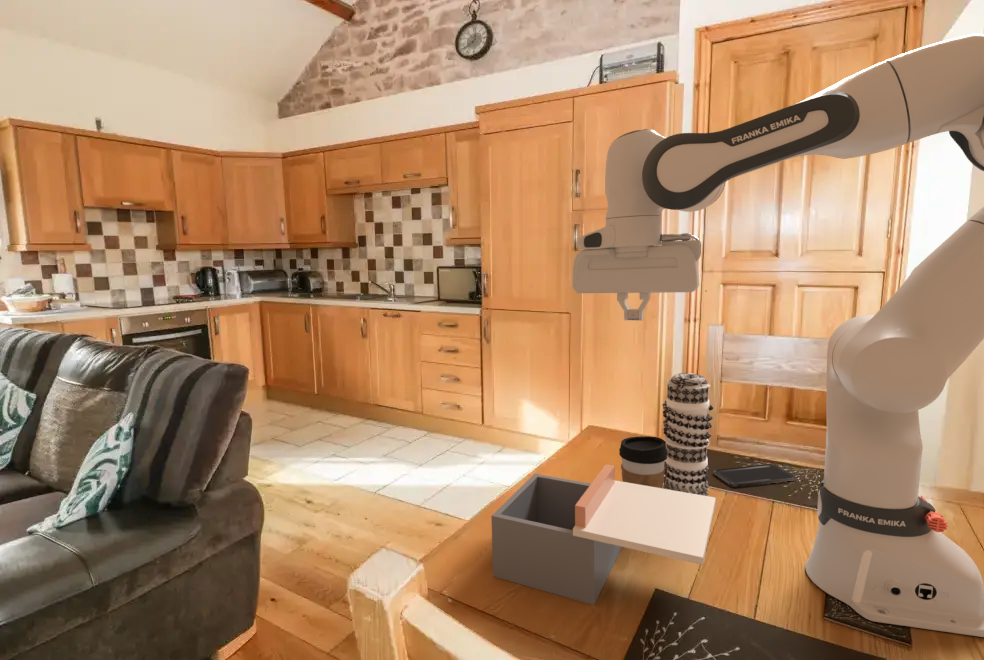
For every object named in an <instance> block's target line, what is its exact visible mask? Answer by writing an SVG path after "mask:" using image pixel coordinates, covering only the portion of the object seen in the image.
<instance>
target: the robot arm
mask: <svg viewBox="0 0 984 660" xmlns="http://www.w3.org/2000/svg"><path fill="white" fill-rule="evenodd" d="M945 132H948V134H949V136H950V137H951V138H952V140H953V141H954V143H956V144H957V145H958V147H959V148H960V149H961V151H962V153H963V154H964V156H965V158H966V159H968V161H969V162H970V163H971V164H972V165H973V166H974V167H976V168H977V169H979V171H982V172H984V34H983V33H981V34H980V33H972V34H967V35H963V36H958V37H954V38H950V39H946V40H942V41H939V42H935V43H932V44H929V45H925V46H922V47H919V48H915V49H913V50H909V51H908V52H905V53H901V54H899V55H897V56H893V57H891V58H888V59H885V60H884V61H881V62H878V63H876V64H874V65H871V66H870V67H867V68H865V69H862V70H860V71H859V72H856V73H854V74H852V75H850V76H848V77H845V78H843V79H842V80H840V81H838V82H837V83H835V84H833V85H831V86H829V87H826V88H825V89H823V90H821V91H819V92H817V93H815V94H813V95H811V96H809V97H807V98H805V99H803V100H801V101H800V102H796V103H795V104H791V105H789V106H786V107H783V108H780V109H778V110H775V111H773V112H769V113H767V114H765V115H761V116H759V117H757V118H754V119H750V120H748V121H745V122H743V123H740V124H738V125H735V126H732V127H728V128H725V129H723V130H719V131H714V132H702V133H701V132H685V133H684V132H683V133H676V134H672V135H670V136H667V137H665V136H664V135H661V134H660V133H658V132H657V131H656V130H654V129H651V128H650V129H648V128H645V129H637V130H632V131H629V132H626V133H624V134H621V135H620V136H618V137H617V138H616V139H613V141H612V143H611V144H610V145H609V147H608V150H607V153H606V154H607V155H606V161H605V173H604V174H605V175H604V193H605V196H606V201H607V209H606V210H607V211H606V212H605V213H606V214H605V226H604V227H602V228H599V229H597V230H594V231H591V232H588V233H586V234H584V235H582V236H579V237H578V238H577V247H578V249H580V251H578V252H577V253H576V255H575V257H574V261H573V267H572V283H571V284H572V288H573V290H574V292H575V293H577V294H616V301H617V302H618V304H619V305H620V307H621V309H622V310H623V320H624V321H643V320H644V318H645V317H644V314H645V309H646V307H647V305H648V303H649V301H650V300H651V297H652V296H651V293H652V294H655V293H658V294H661V293H665V294H666V293H694V292H695V291H696V290H698V288H699V287H700V274H699V272H700V271H699V265H698V261H699V259H700V258H701V256H702V242H701V241H700V238H698V237H697V236H695V235H692V233H689V232H688V233H687V232H685V233H678V234H676V233H674V234H673V233H666V234H662V233H663V232H662V230H663V229H662V225H663V224H662V221H663V220H662V214H663V210H664V209H665V210H673V211H681V212H685V213H686V212H689V213H691V212H693V213H695V212H698V211H701V210H704V209H706V208H708V207H710V206H711V205H712V204H714V203H715V202H716V201H717V200H718V199H719V198H720V196H721V195H722V193H723V192H724V189H725V186H726V182H727V181H729V180H731V179H734V178H737V177H739V176H742V175H746V174H748V173H751V172H754V171H757V170H761V169H763V168H766V167H769V166H773V165H774V164H778V163H781V162H784V161H787V160H790V159H795V158H797V157H803V156H815V155H817V156H826V157H827V156H828V157H832V158H836V159H842V160H844V159H845V160H846V159H853V158H859V157H860V158H861V157H864V156H869V155H874V154H879V153H881V152H885V151H889V150H891V149H895V148H899V147H900V146H904V145H907V144H909V143H913V142H916V141H920V140H921V139H925V138H927V137H930V136H934V135H936V134H942V133H945ZM634 293H635V294H639V300H642V301H641V303H640V305H639V306H638V308H630V306H629V304H628V302H627V300H628V299H629V294H634ZM983 340H984V206H983V207H982V208H980V209H979V210H978V211H977V212H976V213H974V214H973V215H972V216H971V217H969V219H967V221H965V222H964V223H963V224H962V225H961V226H960V227H958V229H957V230H955V231H954V232H953V233H952V234H951V235H950V236H949V237H947V238H946V240H944V241H943V242H942V243H941V244H940V245H939V246H938V247H936V248H935V249H934V250H933V251H932V252H931V253H930V254H928V255H927V256H926V257H925V258H924V259H923V260H922V261H921V262H920V263H918V265H916V266H915V267H914V268H913V270H912V271H911V272H910V274H909V276H908V277H907V278H906V280H905V281H904V282H903V283H902V285H901V286H900V287H899V288H898V289H897V290H896V292H894V294H893V295H892V296H891V297H890V298H889V299H888V301H886V303H885V304H884V305H882V307H880V309H879V310H878V311H877V312H876V314H861V315H858V316H854V317H851V318H849V319H848V320H845V321H844V322H842V323H841V324H840V325H839V326H838V327H836V329H835V330H834V331H833V333H832V334H831V336H830V337H829V341H828V344H827V349H826V351H827V355H826V405H825V406H826V437H825V438H826V439H825V442H826V443H825V457H824V472H823V479H822V480H821V481H820V483H819V490H818V494H817V513H816V514H817V517H818V525H817V531H816V535H815V539H814V542H813V547H812V549H811V551H810V554H809V557H808V559H807V560H806V562H805V567H804V569H805V571H806V574H807V576H808V578H809V579H810V580H811V581H812V582H813V583H814V585H816V587H819V588H820V590H822V591H824V592H825V593H826V594H828V595H829V596H832V597H833V598H836V599H837V600H839V601H841V602H843V603H845V605H847V606H850V608H851V609H853V610H854V611H855V612H856V613H857V614H859V615H860V616H861V617H863V618H864V619H866V620H869V621H871V622H877V623H882V624H887V625H889V624H890V625H896V626H902V627H903V626H905V627H910V628H916V629H917V628H918V629H924V630H932V631H938V632H946V633H952V634H958V635H967V636H973V637H981V638H984V581H983V577H982V575H981V574H982V573H981V572H980V570H979V568H978V566H977V565H976V563H975V562H974V559H973V558H972V557H970V555H969V554H968V553H967V552H966V551H965V550H964V549H963V548H962V547H960V546H959V545H958V544H956V543H955V542H954V541H953V540H952V539H950V538H949V537H947V536H946V535H944V534H943V532H945V531H947V529H948V522H947V521H946V520H945V518H944V516H943V515H942V514H941V513H939V512H936V508H935V507H934V506H933V505H932V504H931V503H929V502H928V501H927V499H926V498H925V497H924V496H923V495H920V496H919V492H920V491H919V489H920V478H921V468H922V467H921V466H922V457H923V449H924V448H923V447H924V446H923V440H922V435H921V427H920V425H921V424H920V418H919V410H921V409H924V408H925V407H928V406H929V405H931V404H932V403H934V402H935V401H936V400H937V399H938V398H939V397H940V395H942V392H943V391H944V388H945V386H946V383H947V382H948V380H949V378H950V377H951V376H952V375H953V374H954V373H955V372H956V371H957V370H958V369H959V367H960V366H961V365H962V364H963V363H964V362H965V361H966V360H967V359H968V358H969V356H971V354H972V353H973V351H974V350H976V348H977V347H979V345H980V344H981V342H982V341H983Z"/></svg>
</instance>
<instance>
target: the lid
mask: <svg viewBox="0 0 984 660" xmlns="http://www.w3.org/2000/svg"><path fill="white" fill-rule="evenodd" d="M615 466H616V465H611V464H605V465H604V466H602V469H601V470H600V471H599V473H598V474H597V476H596V477H595V478H594V479H593V481H592V482H591V483H590V484H591V485H590V486H589V487H588V489H587V490H586V491H585V493H584V494H583V496H582V497H581V498H580V500H579V501H578V502H577V504H576V505H575V526H574V528H573V536H577V537H582V538H586V539H591V540H595V541H599V542H604V543H608V544H613V545H617V546H621V547H622V548H626V549H630V550H635V551H640V552H644V553H647V554H648V553H649V554H653V555H657V556H662V557H664V558H665V557H666V558H670V559H675V560H680V561H683V562H688V563H692V564H696V565H701V566H703V565H704V562H705V557H706V551H707V546H708V542H709V537H710V531H711V527H712V523H713V517H714V515H715V514H714V512H715V509H716V502H717V500H716V499H717V498H716V497H714V496H709V495H707V496H703V495H698V494H692V493H686V492H680V491H674V490H668V489H662V488H657V487H651V486H645V485H639V484H633V483H627V482H623V480H622V481H620V480H616V479H615V477H616V475H615V472H616V470H615Z"/></svg>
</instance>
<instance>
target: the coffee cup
mask: <svg viewBox="0 0 984 660" xmlns="http://www.w3.org/2000/svg"><path fill="white" fill-rule="evenodd" d="M666 444H667V443H666V442H665V440H664V438H661V437H657V436H650V435H648V436H647V435H645V436H643V435H642V436H641V435H640V436H631V437H626V438H623V439H622V440H621V441H620V448H618V449H619V454H618V455H619V457H620V458H621V465H620V469H621V478H622V479H621V480H622V482H627V483H633V484H639V485H645V486H651V487H657V488H662V489H663V485H664V483H663V481H664V477H665V475H664V473H665V467H664V462H665V460H666V459H667V451H666Z"/></svg>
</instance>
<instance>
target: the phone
mask: <svg viewBox="0 0 984 660" xmlns="http://www.w3.org/2000/svg"><path fill="white" fill-rule="evenodd" d="M713 475H714V477H716V476H717V477H718V478H717V477H716V478H717V479H719V480H720V479H721V480H720V481H722V482H723V481H724V482H723V483H725V484H726V483H727V484H726V485H727V486H729V485H730V486H729V487H731V486H732V487H731V488H734V487H740V488H746V487H745V486H749V487H756V486H755V485H758V486H761V485H760V484H767V485H771V484H770V483H774V482H782V481H793V480H795V481H796V476H795V475H793V474H792V473H790V472H788V471H786V470H784V469H783V468H781V467H779V466H777V465H775V464H758V465H757V464H756V465H750V466H749V465H748V466H747V465H746V466H737V467H729V468H720V469H719V468H717V469H714V470H713Z"/></svg>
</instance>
